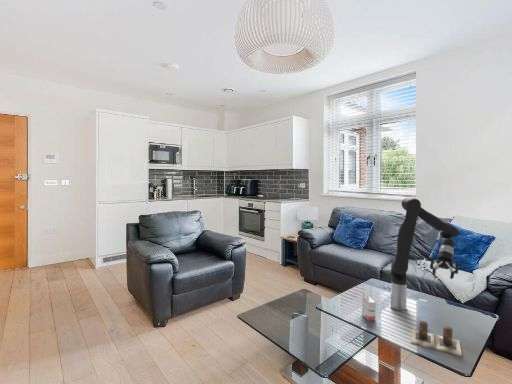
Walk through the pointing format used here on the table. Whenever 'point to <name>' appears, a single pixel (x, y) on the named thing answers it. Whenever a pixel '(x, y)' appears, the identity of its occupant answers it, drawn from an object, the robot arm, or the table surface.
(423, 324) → the pin
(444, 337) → the walnut pin
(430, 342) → the board
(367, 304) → the ink cartridge box
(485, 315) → the table surface
